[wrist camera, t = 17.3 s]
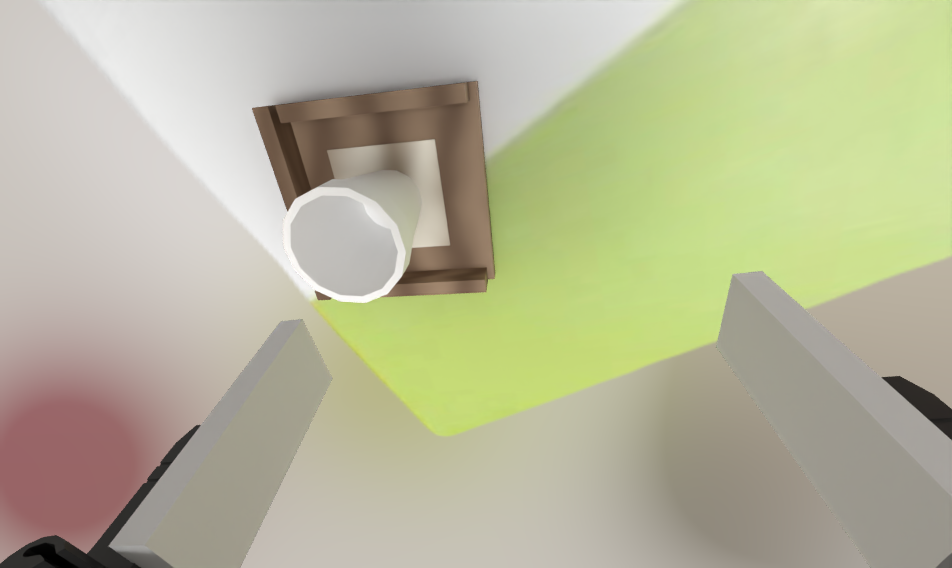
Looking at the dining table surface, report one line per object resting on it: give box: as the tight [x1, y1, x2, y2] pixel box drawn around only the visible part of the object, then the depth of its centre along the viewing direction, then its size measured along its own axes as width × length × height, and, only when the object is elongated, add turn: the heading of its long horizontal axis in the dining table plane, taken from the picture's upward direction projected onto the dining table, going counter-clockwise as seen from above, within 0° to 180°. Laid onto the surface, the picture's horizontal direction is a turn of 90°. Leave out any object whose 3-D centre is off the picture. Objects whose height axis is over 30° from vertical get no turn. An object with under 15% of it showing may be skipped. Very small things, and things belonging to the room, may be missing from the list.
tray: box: [252, 81, 495, 300], centre depth 40 cm, size 20×20×4 cm
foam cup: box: [283, 170, 422, 303], centre depth 34 cm, size 10×9×13 cm
